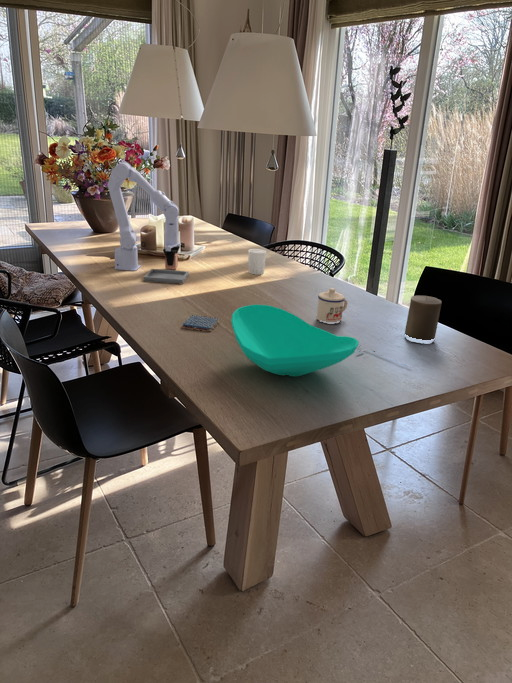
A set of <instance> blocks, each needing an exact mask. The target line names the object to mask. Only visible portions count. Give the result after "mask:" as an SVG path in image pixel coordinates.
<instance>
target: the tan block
mask: <svg viewBox="0 0 512 683" xmlns="http://www.w3.org/2000/svg"><path fill="white" fill-rule="evenodd" d="M178 254H179V252H178V253H175V256H174V262H173V266H170V265H168V264H167V260H166V256H165V255H164V257H165V259H164V262H165V264H164V265H165V266H164V268H165V270H176V269H177V268H178V266H179V265H178V260H179V259H178V256H179V255H178Z"/></svg>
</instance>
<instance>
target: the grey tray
mask: <svg viewBox="0 0 512 683" xmlns="http://www.w3.org/2000/svg"><path fill="white" fill-rule="evenodd" d="M189 273H190V272H189V270H188V271H187V270H176V269H158V268H151V269H150V270H149V271H147V273H146V274H145V275H144V276H143V282H149V283H150V282H151V283H162V282H168V283H167V284H175V283H182V284H181V285H183V284H184V283H185V282H186V280H187V279H188V277H189V275H190V274H189ZM183 282H184V283H183Z"/></svg>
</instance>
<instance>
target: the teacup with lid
mask: <svg viewBox="0 0 512 683" xmlns="http://www.w3.org/2000/svg"><path fill="white" fill-rule="evenodd" d="M317 297H318V301H317V302H318V303H317V312H316V319H317V318H318V319H319V320H322V321H326V322H337V321H340V320H341V321H342V317H343V313H344V312H345V311H346V309H347V306H348V300H347V299H346V298H345V296H344V295H343V294H341V293H339V292H337V291H336V289H335V288H333V287H330V288H329V289H328V290H326V291H323V292H320V293H319V294H318V296H317Z"/></svg>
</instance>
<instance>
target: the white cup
mask: <svg viewBox="0 0 512 683" xmlns="http://www.w3.org/2000/svg"><path fill="white" fill-rule="evenodd" d="M247 252H248V256H247V261H248V263H247V264H248V266H247V267H248V273H249V275H253V274H255V276H259V275H260V274H261V275H263V274H264V272H265V267H266V257H267V250H265V249H261V248H250V249H248V251H247Z"/></svg>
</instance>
